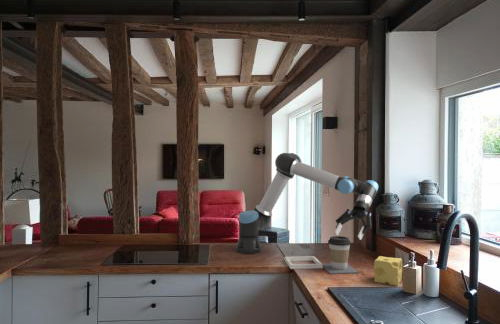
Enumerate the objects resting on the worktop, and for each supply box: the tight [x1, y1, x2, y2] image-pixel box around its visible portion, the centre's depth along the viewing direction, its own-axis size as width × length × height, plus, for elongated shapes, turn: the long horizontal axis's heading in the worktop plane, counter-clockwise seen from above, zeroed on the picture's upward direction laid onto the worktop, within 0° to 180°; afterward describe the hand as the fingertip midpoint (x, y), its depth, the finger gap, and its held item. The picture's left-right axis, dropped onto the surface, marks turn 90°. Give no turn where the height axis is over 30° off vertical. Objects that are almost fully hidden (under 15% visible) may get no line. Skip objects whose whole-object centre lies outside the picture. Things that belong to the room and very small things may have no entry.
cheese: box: [373, 255, 403, 287], centre depth 168 cm, size 10×11×10 cm
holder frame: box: [284, 255, 324, 270], centre depth 195 cm, size 16×16×2 cm
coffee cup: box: [327, 235, 352, 270], centre depth 186 cm, size 11×11×15 cm
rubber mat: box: [322, 263, 359, 275], centre depth 186 cm, size 16×14×1 cm
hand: (347, 236), depth 191 cm, fingers open, 13 cm apart
